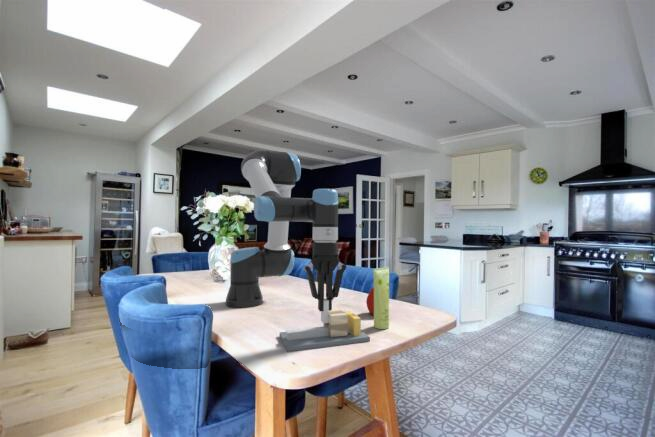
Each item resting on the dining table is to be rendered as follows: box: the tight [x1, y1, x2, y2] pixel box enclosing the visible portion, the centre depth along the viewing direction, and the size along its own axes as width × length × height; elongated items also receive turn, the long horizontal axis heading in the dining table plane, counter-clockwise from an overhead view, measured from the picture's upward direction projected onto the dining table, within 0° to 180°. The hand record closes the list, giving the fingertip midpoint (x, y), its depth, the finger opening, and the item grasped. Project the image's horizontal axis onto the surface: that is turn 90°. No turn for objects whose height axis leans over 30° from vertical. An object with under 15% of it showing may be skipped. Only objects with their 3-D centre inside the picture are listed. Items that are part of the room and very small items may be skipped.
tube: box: [373, 266, 390, 330], centre depth 103 cm, size 6×5×20 cm
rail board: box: [279, 310, 371, 353], centre depth 93 cm, size 12×24×6 cm, turn 109°
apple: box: [366, 286, 374, 316], centre depth 118 cm, size 8×8×11 cm
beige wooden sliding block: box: [323, 308, 347, 337], centre depth 94 cm, size 7×5×6 cm
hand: (324, 321), depth 93 cm, fingers closed
